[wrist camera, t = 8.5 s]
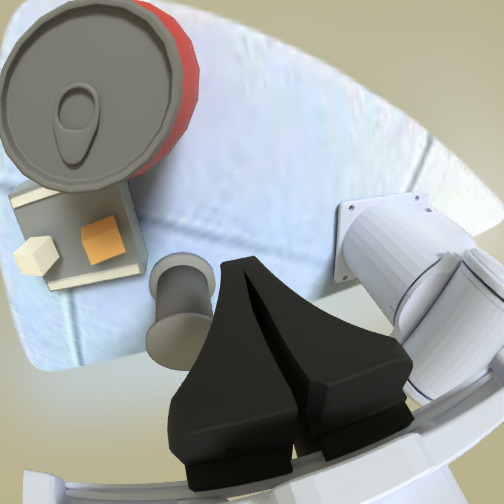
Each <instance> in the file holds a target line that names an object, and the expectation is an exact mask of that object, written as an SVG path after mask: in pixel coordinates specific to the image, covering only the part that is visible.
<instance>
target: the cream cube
mask: <svg viewBox="0 0 504 504" xmlns="http://www.w3.org/2000/svg"><path fill="white" fill-rule="evenodd" d="M13 256H14V258H15V260H16V262H17V265H18V267H19V268H20V270H21V272H22V274H23V275H34V276H43V275H44V274H45V273H46V272H47V271H48V269H49V268H50V267H51V266H52V265H53V264H54V263H55V261H56V260H57V259H58V258H59V255H58V252H57V250H56V248H55V245H54V243H53V241H52V238H51V236H40V237H30V238H29V239H28V240H27V241H26V242H25V243H24V244H23V245H22V246H21V247H20V248H19V249H17V250H16V251H15V252H14V254H13Z"/></svg>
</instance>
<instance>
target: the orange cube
mask: <svg viewBox="0 0 504 504" xmlns="http://www.w3.org/2000/svg"><path fill="white" fill-rule="evenodd" d="M81 238H82V243H83V246H84V248H85V251H86V253H87V256H88V258H89V261H90V263H91V265H94V264H96V263H99V262H101V261H104V260H106V259H109V258H111V257H114V256H117V255H119V254H122V253H124V252H126V251H125V248H124V245H123V242H122V239H121V236H120V233H119V230H118V227H117V224H116V221H115V218H114V215H113V216H110V217H107V218H105V219H102V220H99V221H97V222H94V223H92V224H89V225H86V226H84V227H81Z"/></svg>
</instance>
